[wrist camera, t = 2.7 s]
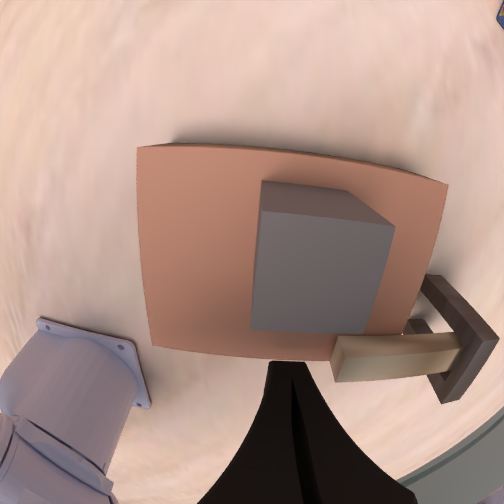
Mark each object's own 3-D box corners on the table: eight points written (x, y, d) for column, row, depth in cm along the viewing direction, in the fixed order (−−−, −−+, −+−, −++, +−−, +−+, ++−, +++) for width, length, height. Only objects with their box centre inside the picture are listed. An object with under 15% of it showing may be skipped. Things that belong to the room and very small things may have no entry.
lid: (161, 325, 14) (125, 408, 9) (152, 145, 10) (69, 160, 5) (380, 339, 14) (415, 417, 9) (428, 177, 10) (515, 214, 5)
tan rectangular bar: (329, 360, 12) (335, 382, 11) (338, 335, 12) (345, 357, 10) (452, 352, 12) (463, 368, 11) (464, 330, 12) (476, 346, 10)
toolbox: (173, 319, 16) (139, 403, 10) (169, 143, 12) (95, 154, 6) (418, 330, 16) (459, 399, 10) (465, 186, 12) (545, 223, 6)
